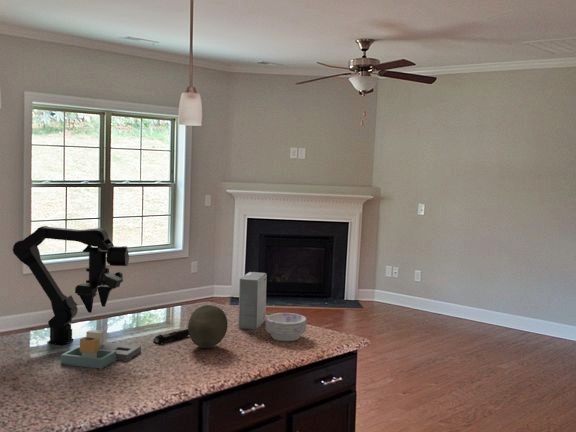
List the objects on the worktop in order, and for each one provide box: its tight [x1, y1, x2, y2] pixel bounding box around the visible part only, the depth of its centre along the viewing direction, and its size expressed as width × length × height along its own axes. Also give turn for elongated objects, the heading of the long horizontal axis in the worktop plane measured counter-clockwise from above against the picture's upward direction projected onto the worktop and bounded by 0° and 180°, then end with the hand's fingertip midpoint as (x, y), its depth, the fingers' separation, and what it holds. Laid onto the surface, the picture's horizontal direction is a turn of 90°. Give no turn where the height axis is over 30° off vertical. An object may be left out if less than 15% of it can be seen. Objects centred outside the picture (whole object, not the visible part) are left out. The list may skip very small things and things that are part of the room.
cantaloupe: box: [187, 304, 228, 349], centre depth 217 cm, size 14×14×15 cm
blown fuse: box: [79, 336, 99, 358], centre depth 198 cm, size 5×3×7 cm, turn 78°
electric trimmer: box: [152, 328, 190, 345], centre depth 225 cm, size 4×16×3 cm, turn 141°
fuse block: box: [99, 341, 142, 362], centre depth 207 cm, size 18×10×2 cm, turn 77°
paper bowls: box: [265, 312, 307, 342], centre depth 233 cm, size 15×15×8 cm
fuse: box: [85, 329, 106, 348], centre depth 208 cm, size 5×3×7 cm, turn 77°
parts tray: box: [60, 346, 117, 370], centre depth 198 cm, size 14×9×3 cm, turn 77°
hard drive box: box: [237, 271, 267, 331], centre depth 250 cm, size 16×8×20 cm, turn 169°
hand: (96, 309), depth 216 cm, fingers open, 9 cm apart
